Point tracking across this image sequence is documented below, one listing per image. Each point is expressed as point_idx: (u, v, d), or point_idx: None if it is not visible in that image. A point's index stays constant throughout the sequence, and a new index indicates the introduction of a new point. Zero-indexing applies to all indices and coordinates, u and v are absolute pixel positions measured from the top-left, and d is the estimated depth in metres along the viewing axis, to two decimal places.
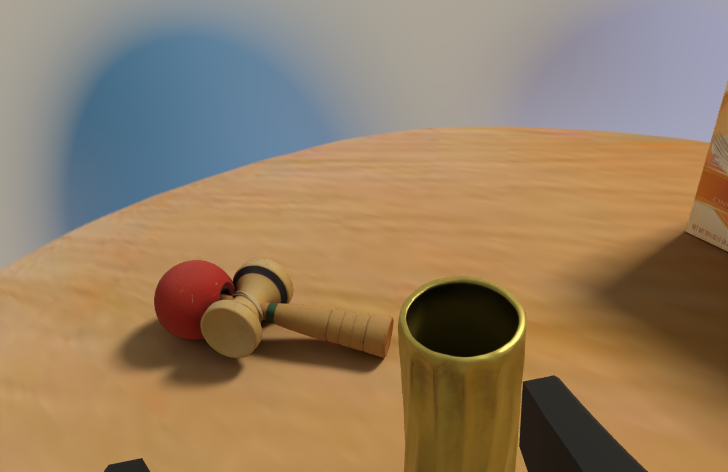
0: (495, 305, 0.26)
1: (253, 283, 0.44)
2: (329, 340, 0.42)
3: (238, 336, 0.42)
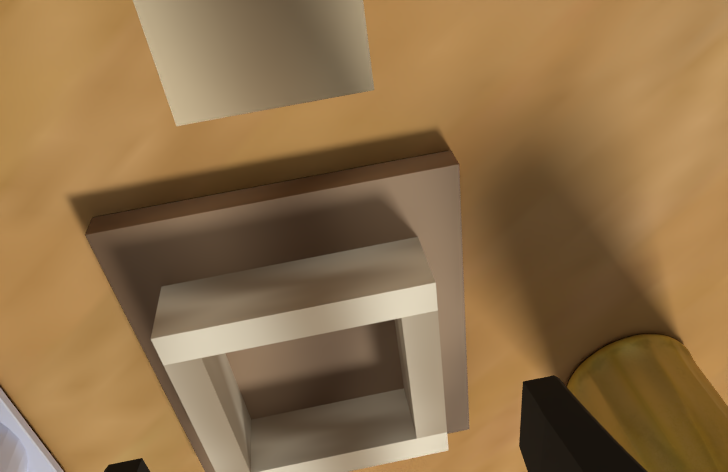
0: None
1: None
2: None
3: None
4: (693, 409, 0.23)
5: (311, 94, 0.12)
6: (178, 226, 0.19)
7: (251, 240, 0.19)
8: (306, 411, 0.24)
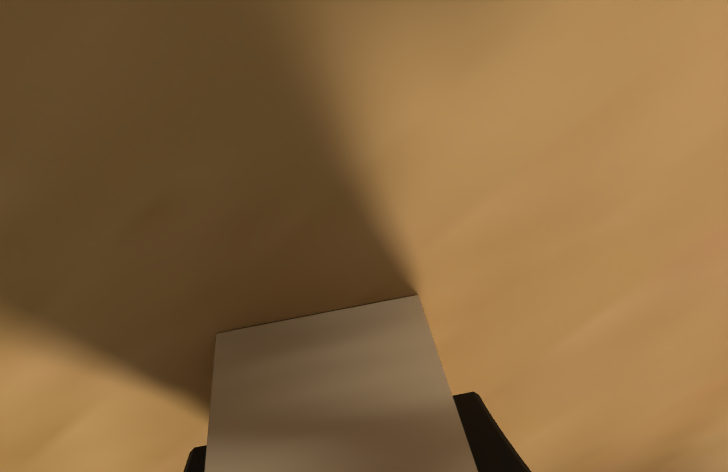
0: None
1: None
2: None
3: None
4: None
5: None
6: None
7: None
8: None
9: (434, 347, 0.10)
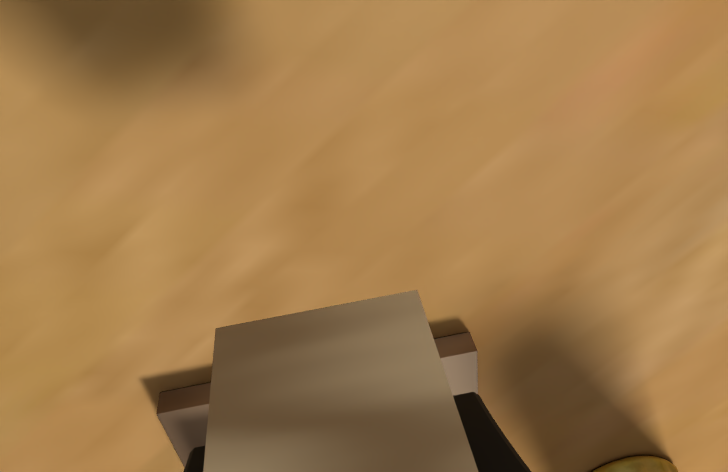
0: None
1: None
2: None
3: None
4: None
5: None
6: None
7: None
8: None
9: (432, 341, 0.10)
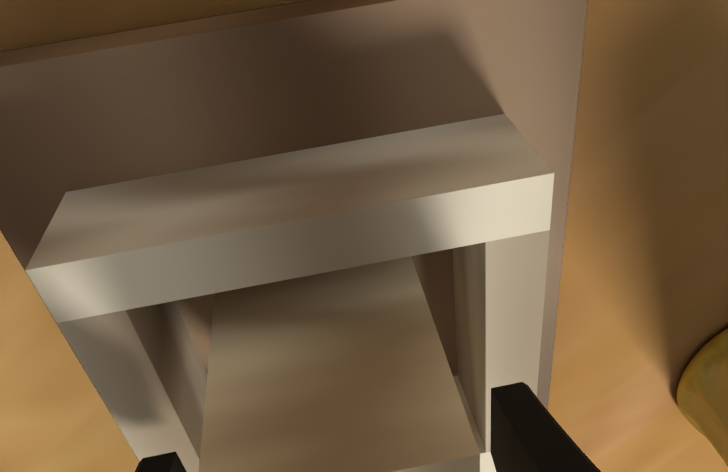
0: None
1: None
2: None
3: None
4: None
5: None
6: (86, 72, 0.10)
7: (219, 108, 0.11)
8: None
9: (410, 257, 0.12)
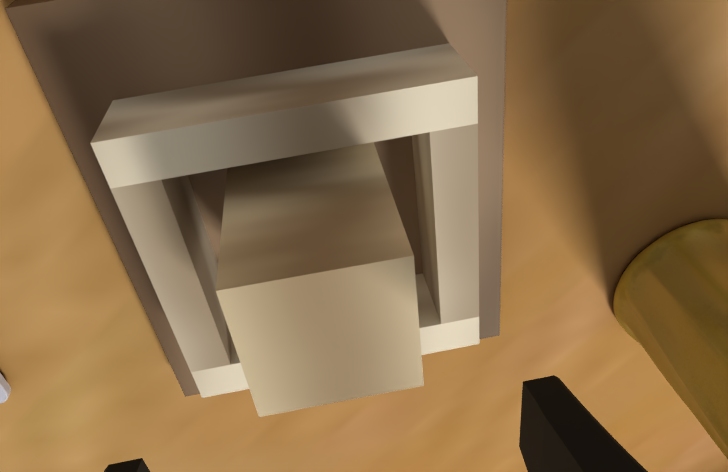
0: None
1: None
2: None
3: None
4: None
5: (372, 391, 0.14)
6: (132, 3, 0.14)
7: (230, 34, 0.15)
8: None
9: (375, 152, 0.16)
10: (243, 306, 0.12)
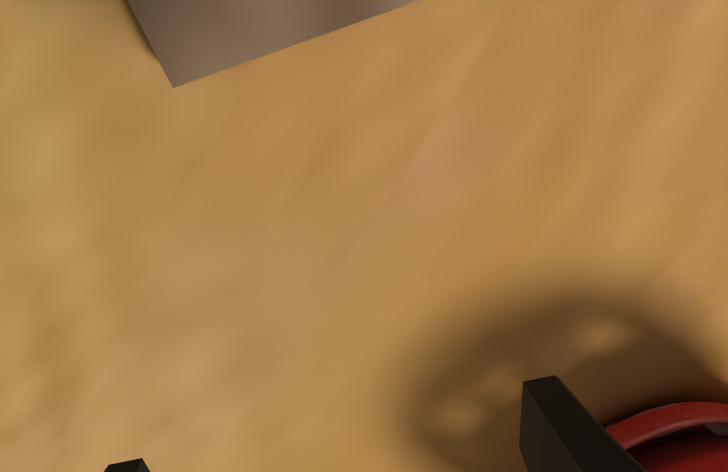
0: None
1: None
2: None
3: None
4: None
5: None
6: None
7: None
8: None
9: None
10: None
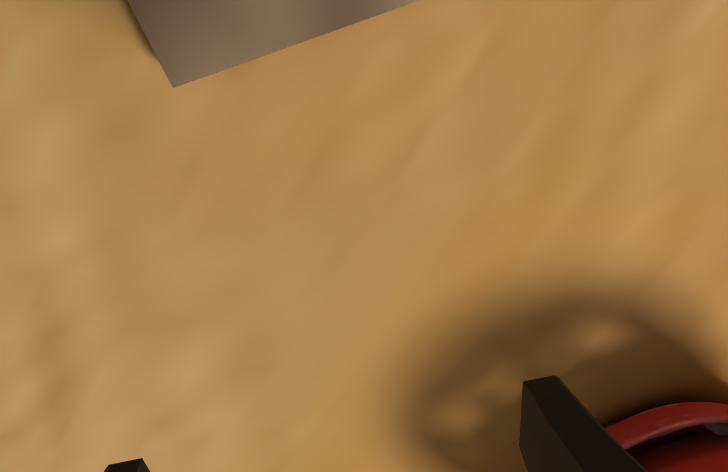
0: None
1: None
2: None
3: None
4: None
5: None
6: None
7: None
8: None
9: None
10: None
